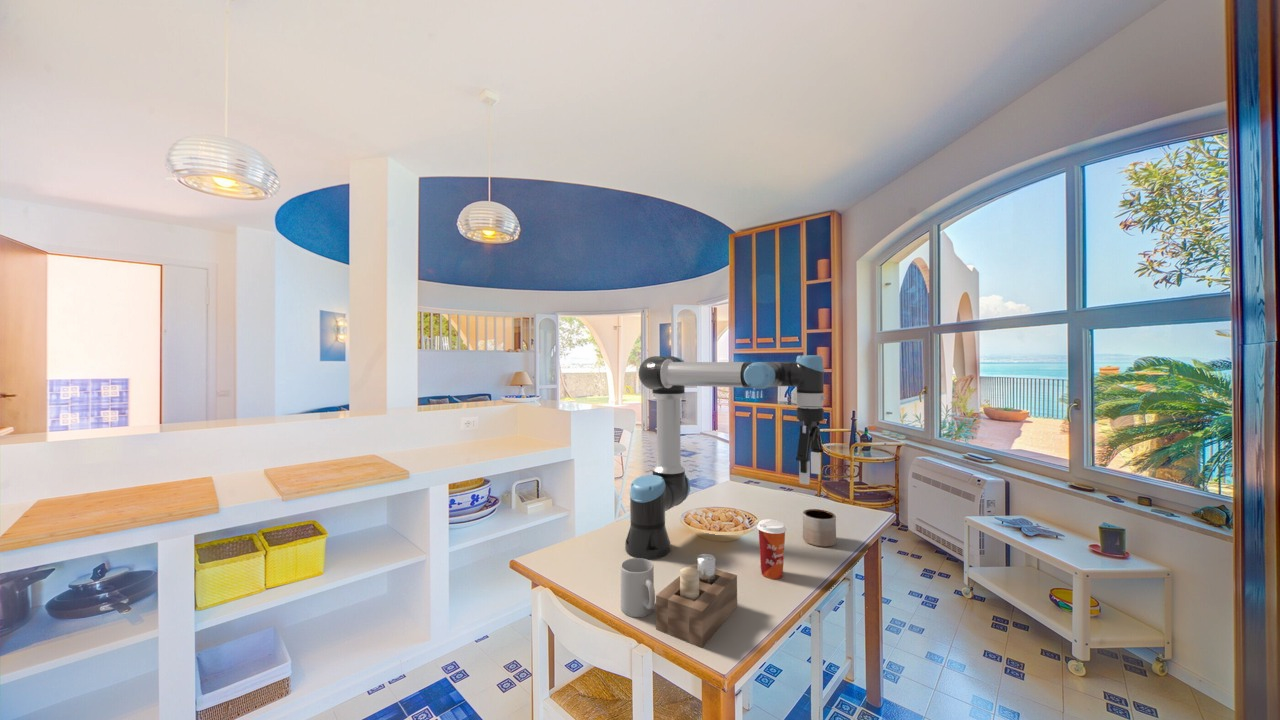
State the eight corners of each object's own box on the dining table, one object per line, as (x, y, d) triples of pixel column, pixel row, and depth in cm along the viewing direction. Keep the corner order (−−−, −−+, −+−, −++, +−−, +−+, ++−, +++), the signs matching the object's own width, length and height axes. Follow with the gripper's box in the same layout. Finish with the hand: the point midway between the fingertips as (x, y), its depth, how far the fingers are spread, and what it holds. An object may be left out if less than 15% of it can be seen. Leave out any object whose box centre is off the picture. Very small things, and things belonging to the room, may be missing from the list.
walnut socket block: (656, 629, 104) (655, 595, 104) (695, 592, 121) (695, 563, 121) (702, 647, 97) (702, 611, 97) (737, 606, 114) (737, 575, 114)
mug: (614, 604, 115) (614, 562, 115) (642, 595, 119) (642, 555, 119) (638, 629, 104) (638, 582, 104) (668, 618, 109) (668, 573, 109)
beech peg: (676, 606, 105) (676, 572, 105) (685, 598, 108) (685, 565, 108) (693, 612, 102) (693, 578, 102) (702, 603, 106) (702, 570, 106)
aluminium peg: (694, 590, 112) (694, 558, 112) (702, 583, 116) (702, 552, 116) (710, 595, 110) (710, 563, 110) (718, 587, 113) (718, 556, 113)
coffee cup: (771, 583, 125) (771, 530, 125) (751, 571, 133) (751, 521, 133) (793, 577, 129) (792, 525, 129) (772, 565, 136) (772, 516, 136)
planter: (807, 533, 162) (807, 506, 162) (839, 539, 156) (839, 512, 156) (798, 542, 153) (798, 515, 153) (832, 550, 147) (832, 521, 147)
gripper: (813, 411, 119) (813, 490, 119) (832, 404, 140) (832, 471, 140) (785, 410, 124) (785, 486, 124) (807, 403, 144) (807, 468, 144)
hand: (810, 478), depth 132 cm, fingers open, 13 cm apart
